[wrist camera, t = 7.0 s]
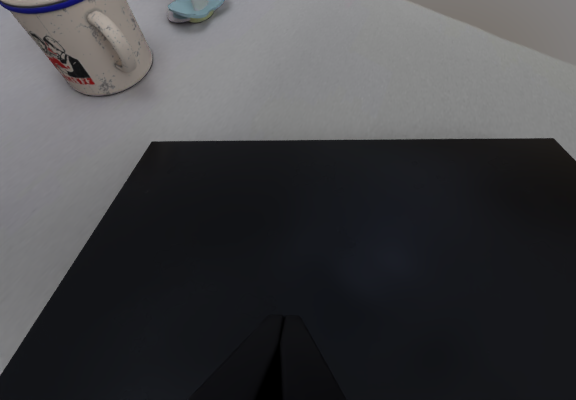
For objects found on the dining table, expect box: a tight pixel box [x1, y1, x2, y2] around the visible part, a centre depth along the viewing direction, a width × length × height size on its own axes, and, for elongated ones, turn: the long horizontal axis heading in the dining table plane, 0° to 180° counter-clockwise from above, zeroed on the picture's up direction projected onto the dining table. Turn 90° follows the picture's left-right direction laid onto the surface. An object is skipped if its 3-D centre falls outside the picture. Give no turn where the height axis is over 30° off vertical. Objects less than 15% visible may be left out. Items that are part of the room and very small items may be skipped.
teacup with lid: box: [0, 0, 152, 96], centre depth 27 cm, size 12×9×12 cm
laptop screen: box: [0, 138, 576, 400], centre depth 16 cm, size 20×29×1 cm
